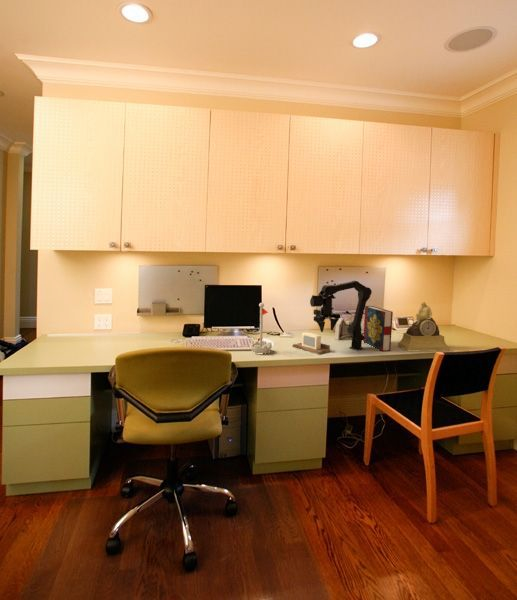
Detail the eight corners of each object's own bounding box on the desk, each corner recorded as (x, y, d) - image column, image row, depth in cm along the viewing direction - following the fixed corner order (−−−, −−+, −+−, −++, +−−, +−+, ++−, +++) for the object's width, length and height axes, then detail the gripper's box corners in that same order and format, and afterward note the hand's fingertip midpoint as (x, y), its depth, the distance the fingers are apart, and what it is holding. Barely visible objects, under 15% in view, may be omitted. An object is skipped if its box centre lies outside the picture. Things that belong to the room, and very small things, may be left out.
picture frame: (306, 344, 250) (306, 332, 249) (320, 348, 241) (321, 335, 240) (301, 345, 247) (301, 333, 246) (315, 349, 238) (316, 336, 237)
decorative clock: (407, 351, 244) (410, 303, 240) (397, 346, 257) (400, 300, 253) (449, 350, 247) (453, 303, 243) (438, 345, 260) (442, 300, 256)
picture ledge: (303, 344, 256) (303, 338, 255) (329, 351, 239) (329, 345, 239) (292, 346, 249) (292, 340, 249) (318, 354, 233) (319, 347, 232)
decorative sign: (349, 337, 289) (351, 317, 289) (352, 337, 288) (354, 317, 287) (334, 339, 271) (336, 318, 270) (337, 340, 270) (339, 318, 269)
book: (361, 342, 266) (362, 305, 263) (370, 341, 268) (372, 305, 264) (381, 351, 242) (383, 312, 238) (391, 351, 243) (393, 311, 240)
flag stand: (245, 352, 236) (246, 302, 232) (259, 348, 246) (260, 300, 242) (261, 356, 227) (262, 305, 223) (275, 352, 237) (277, 302, 233)
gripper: (327, 303, 251) (326, 326, 253) (307, 306, 239) (306, 331, 242) (341, 305, 242) (340, 329, 245) (320, 308, 231) (320, 334, 233)
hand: (326, 331), depth 241 cm, fingers open, 9 cm apart
